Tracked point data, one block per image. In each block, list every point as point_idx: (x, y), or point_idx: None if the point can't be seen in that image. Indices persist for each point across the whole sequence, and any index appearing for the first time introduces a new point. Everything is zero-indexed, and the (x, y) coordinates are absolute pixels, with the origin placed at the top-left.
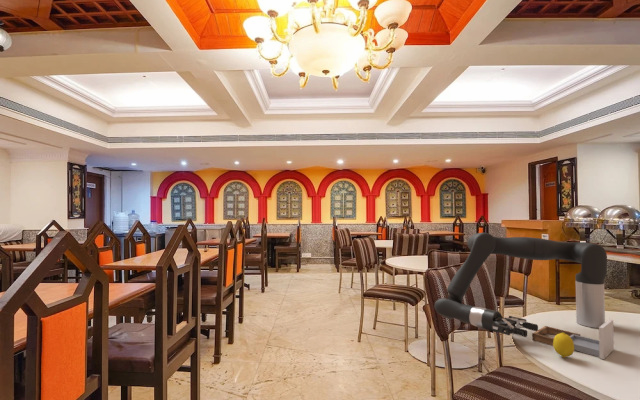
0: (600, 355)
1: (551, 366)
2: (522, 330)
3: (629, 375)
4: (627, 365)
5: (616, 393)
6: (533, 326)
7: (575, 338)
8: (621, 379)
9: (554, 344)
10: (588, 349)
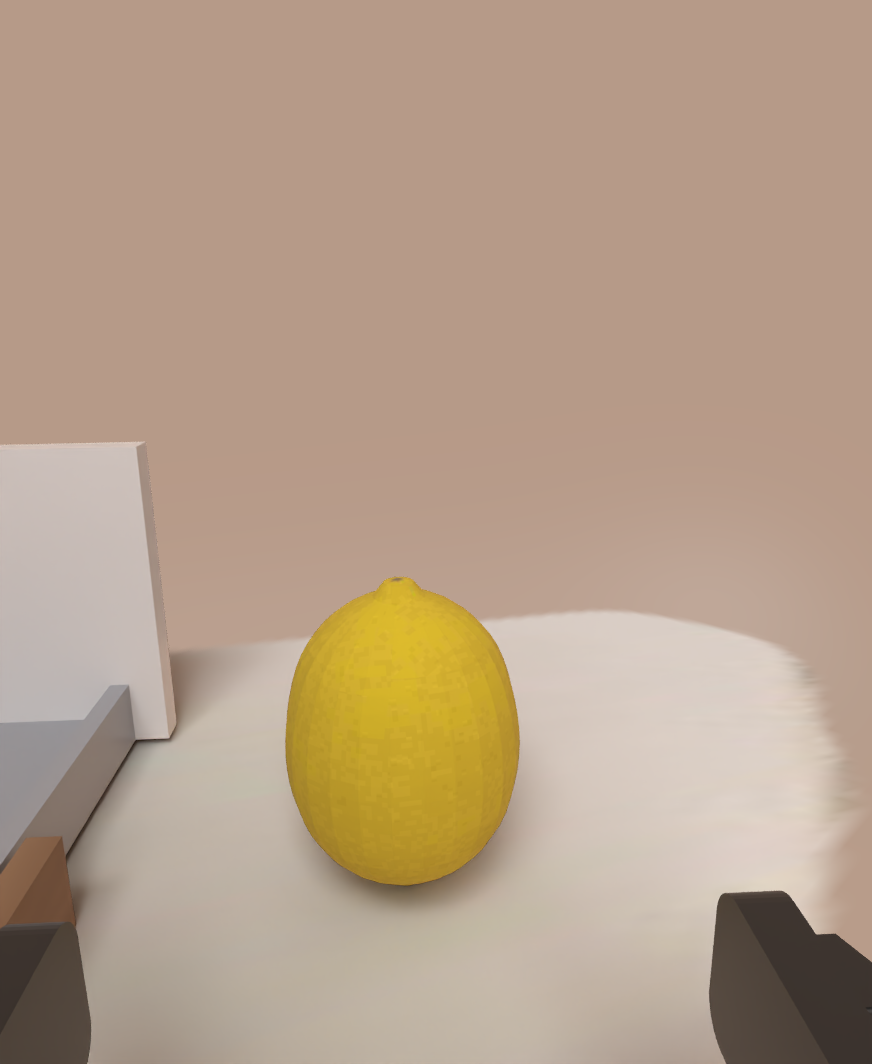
0: (168, 708)
1: (789, 868)
2: (823, 969)
3: None
4: (183, 665)
5: (703, 628)
6: (44, 1033)
7: None
8: None
9: (499, 769)
10: (99, 747)
